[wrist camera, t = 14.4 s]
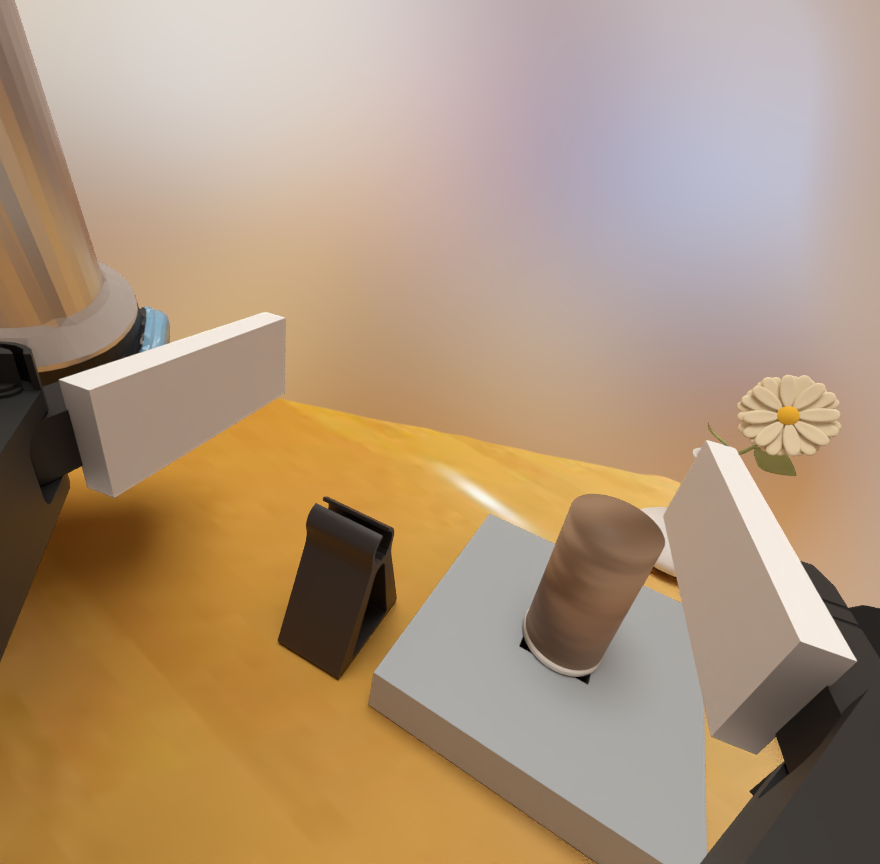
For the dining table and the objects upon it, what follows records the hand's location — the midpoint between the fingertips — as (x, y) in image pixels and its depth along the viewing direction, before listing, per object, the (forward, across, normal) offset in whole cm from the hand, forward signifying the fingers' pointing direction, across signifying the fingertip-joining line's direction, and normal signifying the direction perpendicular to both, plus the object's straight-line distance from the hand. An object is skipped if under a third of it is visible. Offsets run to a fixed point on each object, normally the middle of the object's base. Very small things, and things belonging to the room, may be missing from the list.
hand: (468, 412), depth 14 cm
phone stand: (+11, -8, -29) cm, 32 cm away
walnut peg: (+14, +10, -28) cm, 33 cm away
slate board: (+14, +10, -29) cm, 34 cm away
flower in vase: (+36, +23, -29) cm, 52 cm away
